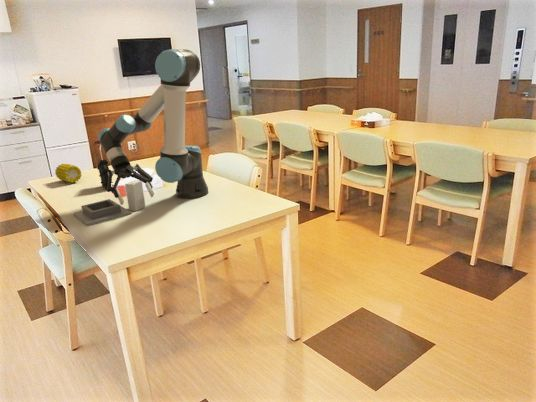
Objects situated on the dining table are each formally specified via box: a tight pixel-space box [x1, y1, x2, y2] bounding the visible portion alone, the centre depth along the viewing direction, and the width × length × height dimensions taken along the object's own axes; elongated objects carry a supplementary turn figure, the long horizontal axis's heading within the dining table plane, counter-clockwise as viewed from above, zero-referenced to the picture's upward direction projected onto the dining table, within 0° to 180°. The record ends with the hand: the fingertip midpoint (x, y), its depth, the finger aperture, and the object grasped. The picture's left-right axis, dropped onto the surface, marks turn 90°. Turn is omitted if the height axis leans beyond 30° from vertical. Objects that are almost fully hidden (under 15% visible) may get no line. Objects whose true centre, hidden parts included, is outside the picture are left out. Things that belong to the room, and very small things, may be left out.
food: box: [54, 163, 82, 183], centre depth 227 cm, size 15×12×10 cm
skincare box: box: [124, 179, 146, 212], centre depth 178 cm, size 6×4×12 cm
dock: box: [72, 199, 132, 227], centre depth 174 cm, size 18×18×4 cm
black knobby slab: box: [96, 158, 114, 191], centre depth 212 cm, size 4×13×15 cm, turn 33°
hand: (138, 199), depth 177 cm, fingers open, 13 cm apart
